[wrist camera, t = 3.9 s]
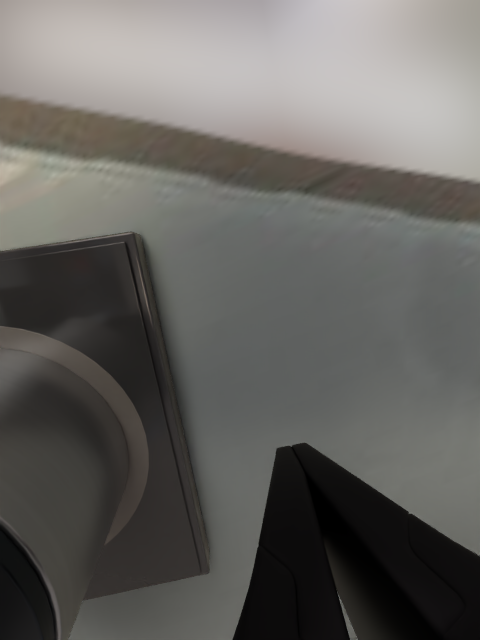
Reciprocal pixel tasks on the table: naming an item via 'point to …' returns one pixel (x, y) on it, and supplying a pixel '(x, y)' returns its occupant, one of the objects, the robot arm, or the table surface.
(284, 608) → the robot arm
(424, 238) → the table surface
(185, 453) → the hob
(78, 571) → the pot
